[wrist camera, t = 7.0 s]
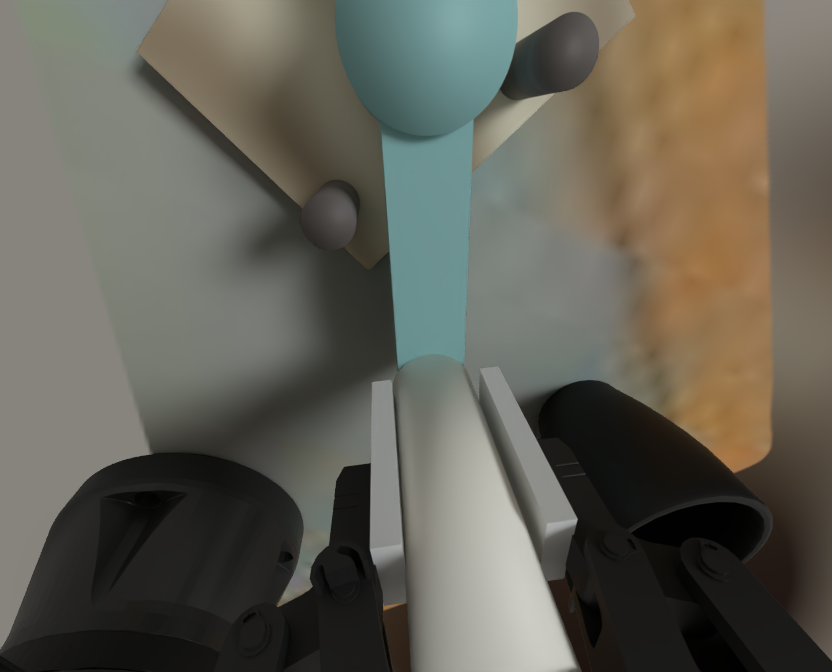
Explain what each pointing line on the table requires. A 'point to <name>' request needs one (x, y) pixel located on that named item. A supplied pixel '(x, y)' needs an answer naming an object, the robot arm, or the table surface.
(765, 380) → the table surface
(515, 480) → the robot arm
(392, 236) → the lever
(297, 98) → the press base
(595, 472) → the mug
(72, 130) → the table surface
